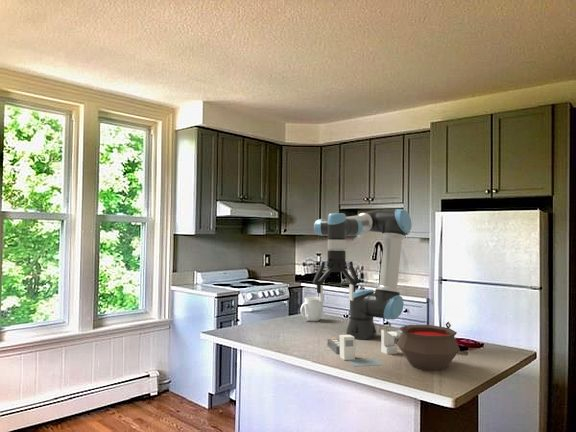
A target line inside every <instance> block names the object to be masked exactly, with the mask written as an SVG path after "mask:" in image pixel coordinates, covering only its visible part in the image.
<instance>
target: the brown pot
mask: <svg viewBox="0 0 576 432" xmlns="http://www.w3.org/2000/svg"><path fill="white" fill-rule="evenodd" d="M451 327H452V325H451V322H450V321H447V322H446V323H445V325H444V326H439V325H433V324H406V325H405V326H402V327H399V330H400V331H401V334H400V336H399V338H398V341H397V342H396V346H397V347H399V350H400V351H401V352H402V354H403V356H404V357H405V359H406V360H407V362H408V363H409V364H410V366H412V368H416V369H421V370H426V371H441V370H444V369H446V368H448V366H449V365H450V364H451V362H452V361H453V360H454V359H455V357H456V356H457V355H458V353H460V351H461V349H460V347H459V345H458V344H459V343H458V342H457V339H456V337H455V336H456V335H457V334H458V332H457V331H455V330H453V329H452V328H451Z"/></svg>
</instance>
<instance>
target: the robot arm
mask: <svg viewBox="0 0 576 432" xmlns="http://www.w3.org/2000/svg"><path fill="white" fill-rule="evenodd" d="M411 229H412V218H411V216H410V213H409V212H408V211H407V210H406V209H400V208H395V209H394V208H393V209H376V210H371V211H366V212H361V213H359V214H358V215H351V216H347V215H346V213H342V212H341V213H339V212H333V213H329V214H328V215H327V218H319V219H317V220H315V221H314V224H313V232H314V233H315V235H318V236H322V237H323V236H327V249H328V250H327V261H326V262H325V261H323V260H321V261H319V262H320V263H319V267H318V269H317V271H316V274H315V275H314V278H313V280H312V284H314V285H316V293H317V294H318V297H319V301H321V302H323V303H324V296H323V295H324V286H323V285H322V284H324V281H326V279H327V278H328V277H329V275H330V274H331V273H342V274H343V275H344V276H345V278H346V279H347V280H348V282H349V283H350V284H348V285H349V287H348V288H349V289H348V290H349V291H348V293H349V321H348V324H347V328H346V333H345V335H351V336H354V338H355V339H356V340H358V339H359V340H370V339H371V340H372V339H376V338H377V336H378V332H377V328H376V325H375V322H374V318H378V319H385V320H392V321H393V320H397V319H399V317H400V316H401V315H402V313H403V310H404V304H405V303H404V299H403V297H402V296H401V295H400V293H401V292H400V291H399V290H398V281H399V271H400V264H401V263H400V262H401V254H402V253H401V252H402V242H403V240H404V239H406V235H407V234H408V233H410V232H411ZM362 232H363V233H364V232H365V233H367V232H374V233H381V236H382V237H383V247H382V248H383V249H382V256H381V258H382V259H381V266H380V274H379V284H378V286H377V287H376V288H375V291H374V290H373V289H372V288H371V289H370V288H369V289H367V288H366V289H357V290H356V286H357V284H360V283H361V281H360V278H359V277H358V274H357V272H356V270H355V268H354V264H353V261H351V260H348V261H346V245H347V243H346V237H347V236H348V237H357V236H359V235H361V233H362ZM326 266H327V269H326V270H325V272H324V269H325V267H326ZM346 266H347V267H348V270H349V271H350V273H349V272H348V271H347V269H346V268H345V267H346ZM323 272H324V273H323ZM350 274H351V275H352V276H351V275H350ZM321 275H322V276H321Z"/></svg>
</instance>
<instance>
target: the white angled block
mask: <svg viewBox="0 0 576 432" xmlns="http://www.w3.org/2000/svg"><path fill="white" fill-rule="evenodd" d="M380 331H381V333H380V335H381V336H380V337H381V339H380V344H381V345H380V346H381V348H380V351H381V353H383V354H385V355H394V354H398V345H397V344H395V336H394V335H392V334H391V333H389V332H388V331H386V330H384V329H381V330H380Z"/></svg>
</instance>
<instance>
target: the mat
mask: <svg viewBox="0 0 576 432" xmlns="http://www.w3.org/2000/svg"><path fill="white" fill-rule="evenodd" d="M346 361H347V362H348V363H350V364H351V366H353V367H369V366H384V364H383V362H381V361H379V360H378V359H377V358H357V359H356V358H355V360H346Z"/></svg>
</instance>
